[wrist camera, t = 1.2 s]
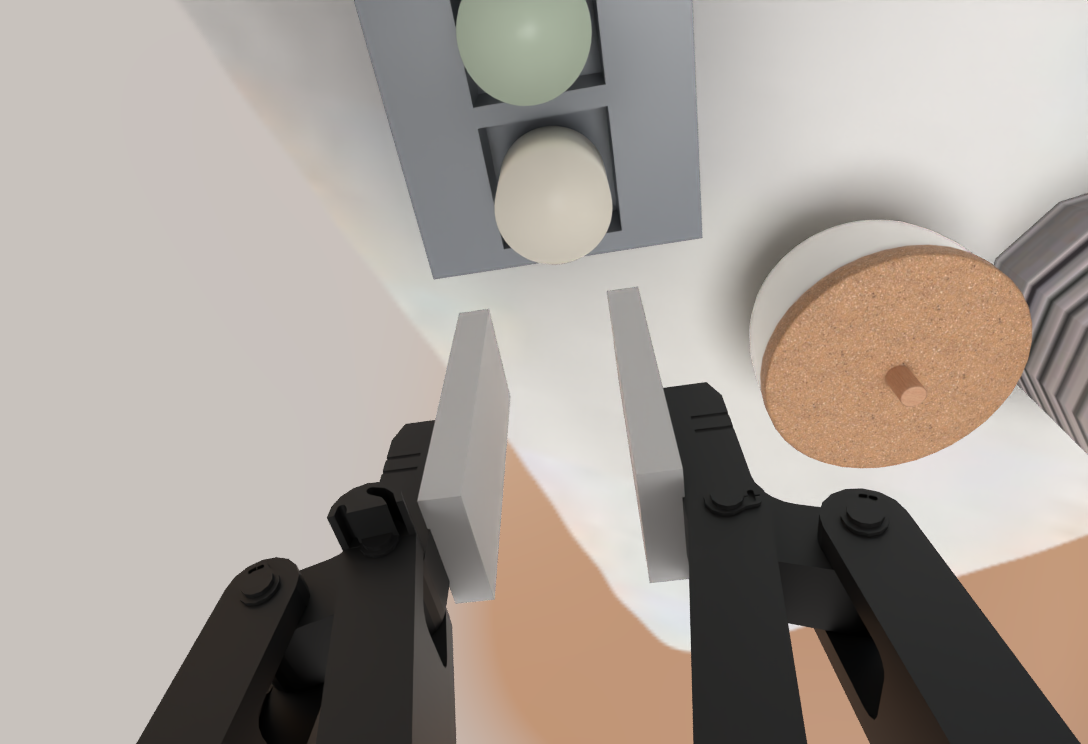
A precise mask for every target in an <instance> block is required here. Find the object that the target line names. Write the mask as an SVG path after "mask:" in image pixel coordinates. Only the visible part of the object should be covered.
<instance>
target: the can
mask: <svg viewBox="0 0 1088 744" xmlns="http://www.w3.org/2000/svg"><path fill="white" fill-rule="evenodd" d="M994 266H995V267H996V268H998V269H999V270H1000V271H1001V272H1003V273H1004V274H1005V275H1007V276H1008V277H1009V278H1010V279H1011V280H1012V281H1013V282H1014V283H1015V285H1016V286H1017V287H1018V288H1019V290H1020V291H1021V292H1022V294H1023V296H1024V298H1025V300H1026V302H1027V304H1028V307H1029V310H1030V315H1031V320H1032V342H1031V347H1030V352H1029V357H1028V361H1027V363H1026V366H1025V368H1024V370H1023V373H1022V375H1021V377H1020V379H1019V380H1018V382H1017V385H1018V386H1019V387H1020V388H1021V389H1022V390H1023V391H1024V392H1025V393H1026V394H1027V395H1028V396H1029V397H1030V398H1031V399H1032V400H1033V401H1034V402H1035V403H1036V404H1037V405H1038V406H1039V407H1040V408H1042V409H1043V410H1044V411H1045V412H1046V413H1047V414H1048V415H1049V416H1050V417H1051V418H1052V419H1053V420H1054V421H1055V422H1056V423H1057V424H1058V425H1059V426H1060V427H1061V428H1062V429H1063V430H1064V431H1065V432H1066V433H1067V434H1068V435H1069V436H1070V437H1071V438H1072V439H1073V440H1074V441H1075V442H1076V443H1077V444H1078V445H1079V446H1080V447H1081V448H1082V449H1083V450H1084V451H1085V452H1086V453H1087V454H1088V193H1087V194H1084V195H1081V196H1078V197H1074V198H1071V199H1068V200H1065V201H1061V202H1059V203H1058V204H1057V205H1056V206H1054V207H1053V208H1052V209H1051V210H1050V211H1049V212H1048V213H1047V214H1045V215H1044V216H1043V217H1042V218H1041V219H1040V220H1039V221H1038V222H1036V223H1035V224H1034V225H1033V226H1032V227H1031V228H1030V229H1029V230H1027V231H1026V232H1025V233H1024V234H1023V235H1022V236H1021V237H1020V238H1018V239H1017V240H1016V241H1015V242H1014V243H1013V244H1012V245H1011V246H1009V247H1008V248H1007V249H1006V250H1005V251H1004V252H1003V253H1002V254H1000V255H999V256H998V257H997V258H996V260H995V262H994Z"/></svg>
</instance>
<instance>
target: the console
mask: <svg viewBox="0 0 1088 744" xmlns="http://www.w3.org/2000/svg"><path fill="white" fill-rule="evenodd" d="M585 1H586V3H587V6H588V10H589V13H590V19H591V28H592V36H591V45H590V51H589V54H588V58H587V61H586V63H585V65H584V68H583V70H582V71H581V73H580V75H579V76H578V78H577V79H576V80H575V82H574V83H573V84H572V85H571V86H570V87H569V88H568V89H567V90H566V91H565V92H563V93H562V94H561V95H559V96H558V97H556V98H554V99H552V100H550V101H548V102H545V103H542V104H538V105H532V106H518V105H512V104H508V103H505V102H502V101H500V100H498V99H496V98H494V97H492V96H491V95H489V94H487V93H486V92H485V91H484V90H483V89H481V88H480V87H479V86H478V85H477V83H476V82H475V81H474V80H473V79H472V77H471V76H470V75H469V73H468V71H467V69H466V68H465V66H464V64H463V61H462V59H461V56H460V53H459V49H458V44H457V38H456V23H457V15H458V10H459V6H460V3H461V0H354V2H355V6H356V9H357V13H358V16H359V20H360V23H361V27H362V30H363V34H364V37H365V41H366V44H367V48H368V51H369V55H370V58H371V62H372V65H373V69H374V72H375V76H376V79H377V83H378V86H379V90H380V93H381V97H382V100H383V104H384V107H385V111H386V114H387V118H388V121H389V125H390V128H391V132H392V135H393V139H394V142H395V146H396V149H397V153H398V156H399V160H400V163H401V167H402V170H403V174H404V177H405V181H406V184H407V188H408V191H409V195H410V198H411V202H412V205H413V209H414V212H415V216H416V219H417V223H418V226H419V230H420V233H421V237H422V240H423V244H424V247H425V251H426V254H427V258H428V261H429V265H430V268H431V272H432V275H433V279H440V278H446V277H452V276H459V275H465V274H472V273H478V272H485V271H491V270H498V269H504V268H511V267H517V266H524V265H530V264H537V262H534V261H531V260H529V259H526V258H525V257H523V256H521V255H520V254H518V253H517V252H516V251H514V250H513V249H512V248H511V247H510V246H509V245H508V244H507V242H506V241H505V240H504V238H503V237H502V235H501V233H500V231H499V229H498V226H497V223H496V219H495V206H494V205H495V197H496V192H497V186H498V181H499V176H500V170H501V166H502V162H503V160H504V157H505V155H506V153H507V152H508V150H509V148H510V147H511V146H512V145H513V143H514V142H515V141H516V140H517V139H519V138H520V137H521V136H523V135H524V134H526V133H527V132H529V131H531V130H534V129H536V128H540V127H545V126H561V127H566V128H570V129H573V130H575V131H577V132H579V133H581V134H582V135H584V136H585V137H586V138H587V139H589V140H590V141H591V142H592V143H593V145H594V146H595V147H596V149H597V150H598V152H599V153H600V155H601V157H602V160H603V163H604V167H605V171H606V175H607V180H608V184H609V188H610V193H611V198H612V217H611V222H610V225H609V228H608V230H607V232H606V234H605V236H604V237H603V239H602V240H601V242H600V243H599V244H598V245H597V246H596V247H595V248H594V249H593V250H592V251H591V252H590V253H588V254H587V255H585V256H589V255H595V254H602V253H608V252H615V251H621V250H628V249H634V248H641V247H647V246H653V245H660V244H666V243H673V242H679V241H686V240H692V239H699V238H702V216H701V193H700V169H699V146H698V122H697V98H696V75H695V51H694V28H693V4H692V0H585Z"/></svg>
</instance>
